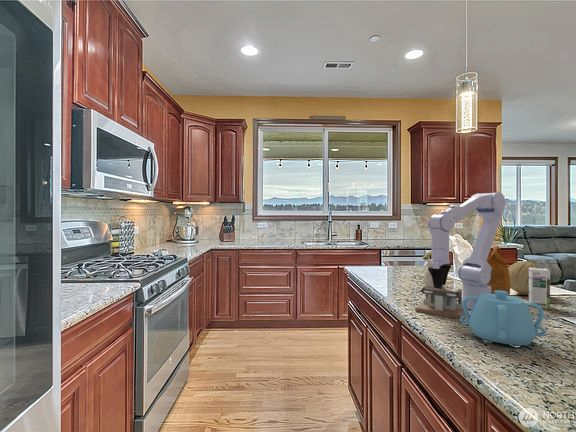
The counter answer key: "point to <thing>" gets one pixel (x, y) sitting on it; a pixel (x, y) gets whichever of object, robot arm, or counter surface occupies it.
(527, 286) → the cantaloupe
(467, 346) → the counter surface
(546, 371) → the counter surface
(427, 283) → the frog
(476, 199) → the robot arm
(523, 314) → the decorative pot
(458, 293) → the bracket with white balls
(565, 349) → the counter surface
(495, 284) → the coffee package
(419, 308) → the tan board with cubes
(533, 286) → the syrup box
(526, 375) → the counter surface
